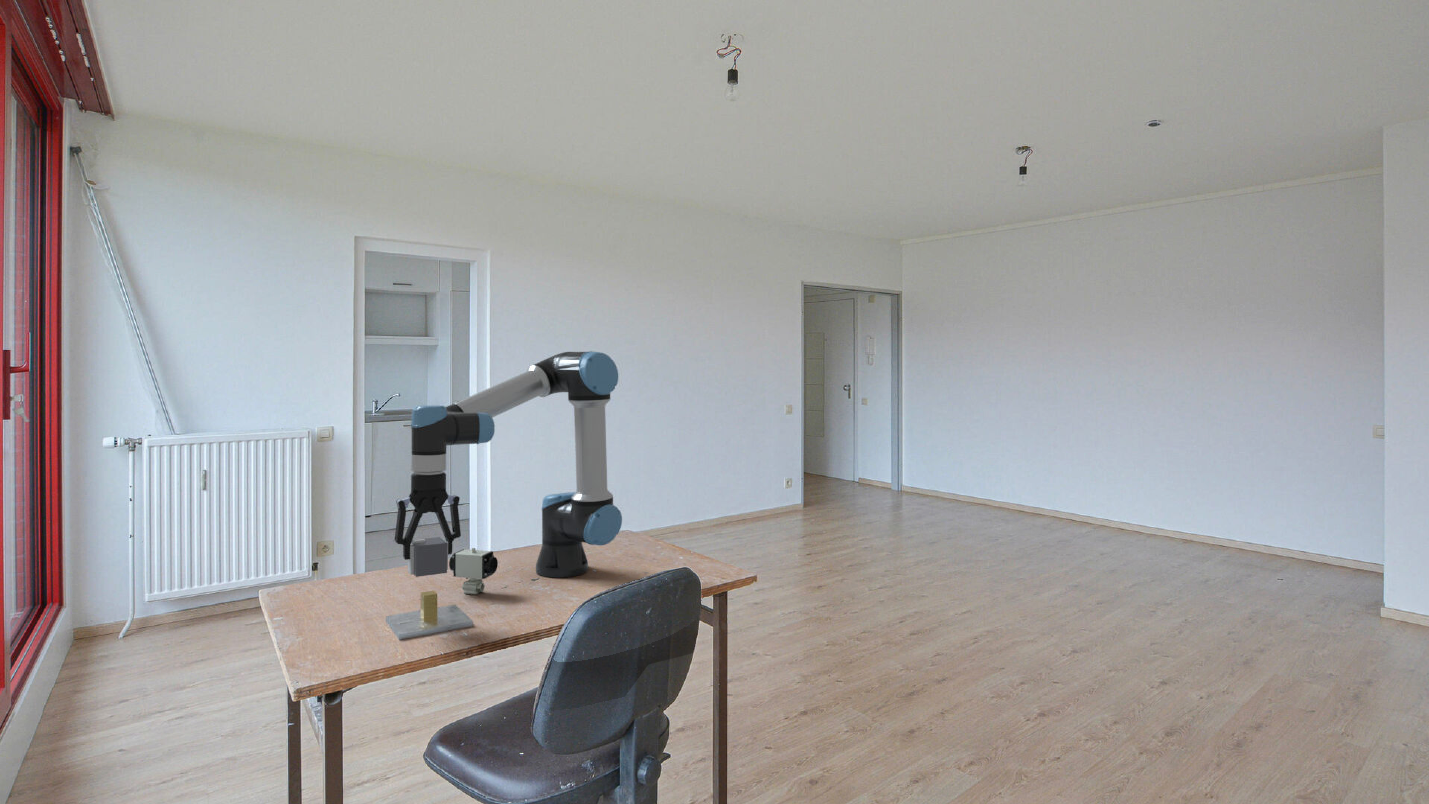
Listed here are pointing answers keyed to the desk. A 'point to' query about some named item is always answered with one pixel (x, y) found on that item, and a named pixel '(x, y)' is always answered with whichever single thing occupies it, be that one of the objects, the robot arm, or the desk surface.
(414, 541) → the grey cabinet with handle
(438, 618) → the grey peg base
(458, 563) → the pneumatic valve
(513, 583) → the desk surface
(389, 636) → the desk surface
